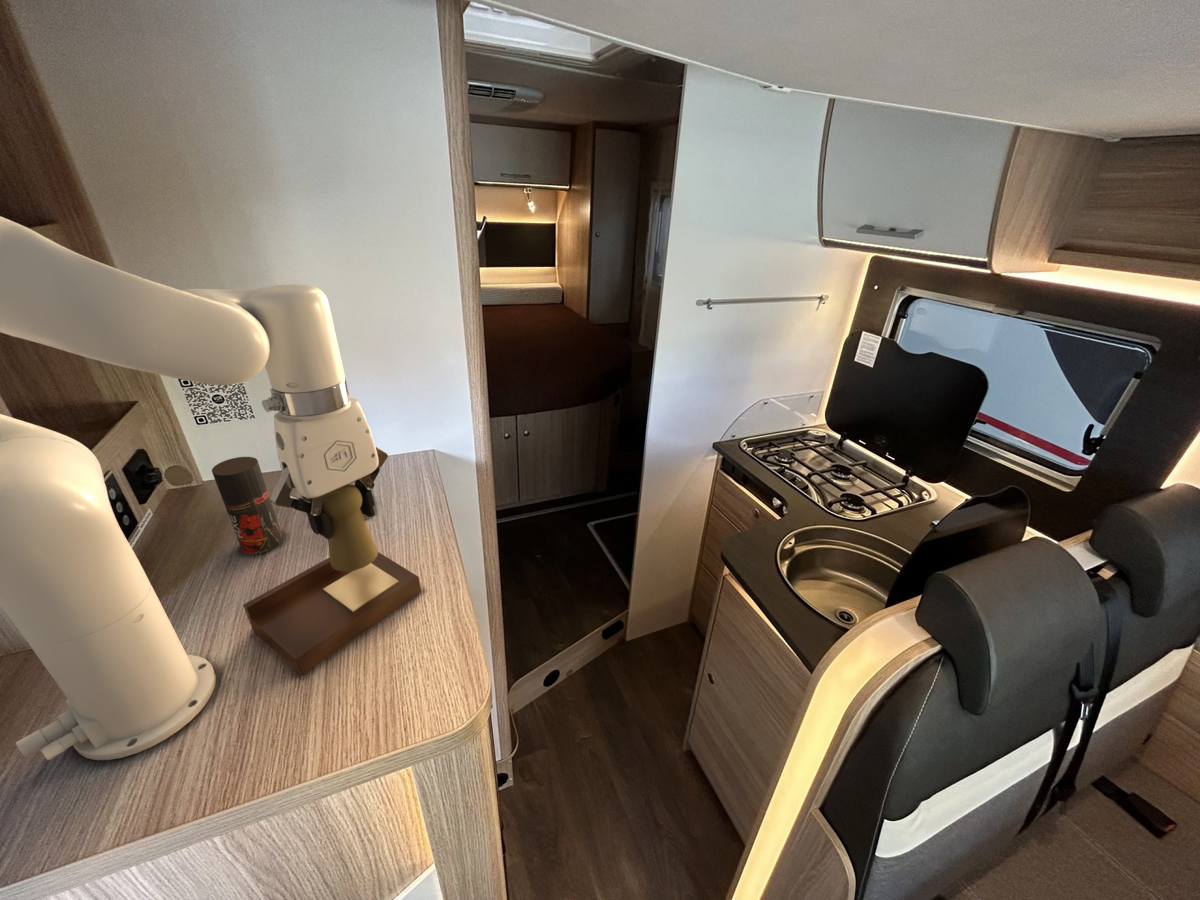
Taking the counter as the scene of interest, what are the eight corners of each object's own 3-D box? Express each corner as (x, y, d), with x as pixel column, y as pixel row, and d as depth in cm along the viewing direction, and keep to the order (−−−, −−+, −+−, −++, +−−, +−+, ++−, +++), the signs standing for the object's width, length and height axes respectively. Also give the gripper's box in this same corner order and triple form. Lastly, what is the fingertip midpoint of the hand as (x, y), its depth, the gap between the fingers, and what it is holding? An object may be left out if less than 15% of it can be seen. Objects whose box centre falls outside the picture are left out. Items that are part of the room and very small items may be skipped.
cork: (360, 574, 66) (342, 505, 61) (320, 567, 67) (299, 499, 62) (386, 546, 71) (372, 480, 66) (349, 540, 72) (332, 475, 67)
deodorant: (290, 533, 86) (266, 458, 79) (266, 555, 81) (238, 476, 74) (258, 531, 87) (231, 455, 80) (232, 552, 81) (201, 473, 74)
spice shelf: (301, 676, 61) (290, 647, 59) (253, 632, 67) (242, 604, 65) (421, 591, 75) (416, 565, 72) (373, 561, 81) (367, 536, 78)
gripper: (249, 429, 50) (296, 569, 58) (396, 383, 62) (417, 504, 71) (215, 411, 53) (264, 546, 62) (361, 371, 66) (385, 487, 75)
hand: (345, 522), depth 66 cm, fingers closed on cork, 5 cm apart
